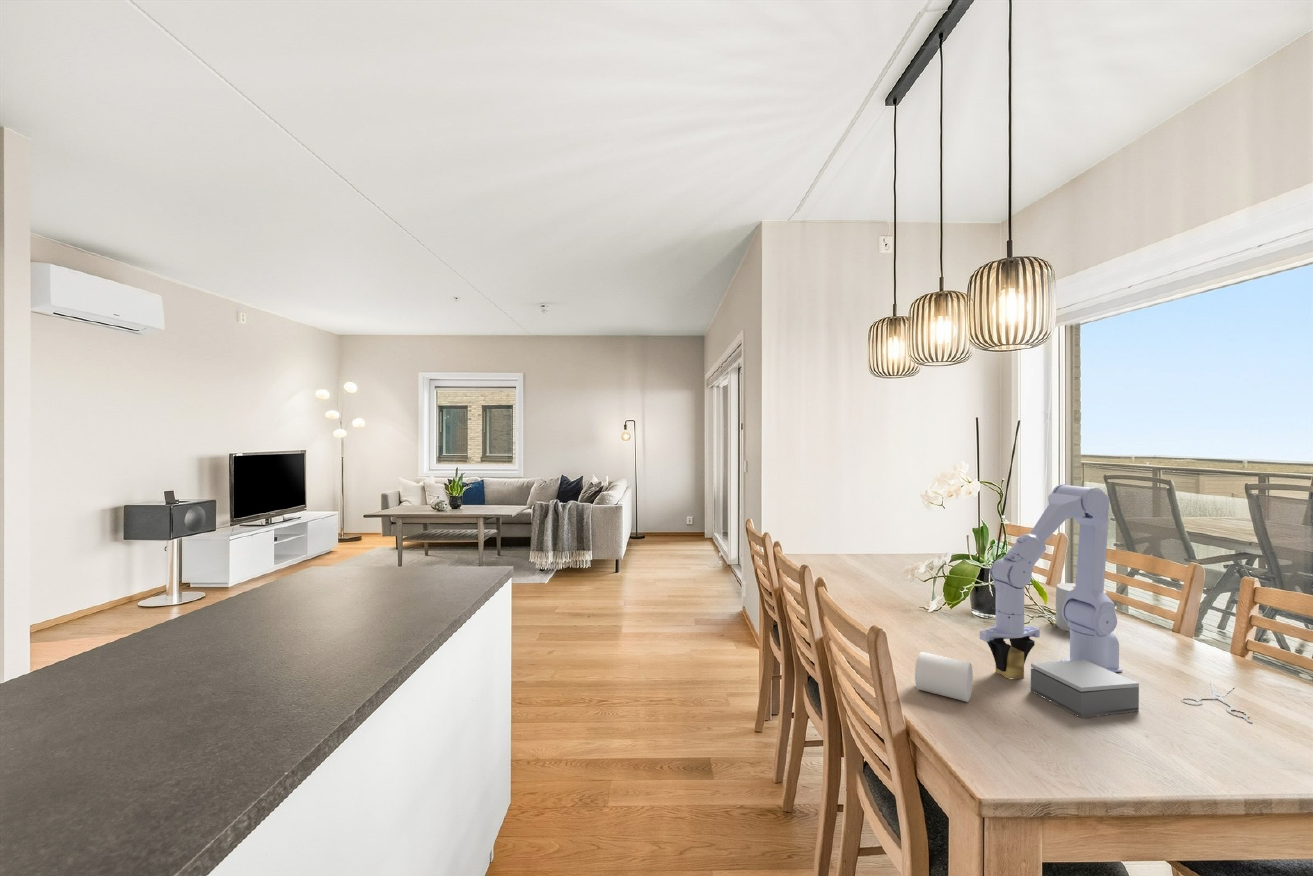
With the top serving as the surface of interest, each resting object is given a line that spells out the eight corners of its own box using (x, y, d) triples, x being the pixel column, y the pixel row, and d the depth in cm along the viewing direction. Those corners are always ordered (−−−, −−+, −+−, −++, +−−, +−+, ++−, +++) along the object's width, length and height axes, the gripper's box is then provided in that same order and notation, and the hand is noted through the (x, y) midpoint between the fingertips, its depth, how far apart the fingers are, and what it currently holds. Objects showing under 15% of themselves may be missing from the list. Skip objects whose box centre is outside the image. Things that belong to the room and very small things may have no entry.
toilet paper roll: (1059, 631, 162) (1059, 591, 162) (1052, 619, 172) (1052, 581, 172) (1112, 638, 156) (1112, 596, 156) (1101, 625, 167) (1101, 585, 167)
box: (1084, 685, 128) (1084, 663, 128) (1138, 711, 116) (1138, 687, 116) (1030, 691, 125) (1030, 668, 125) (1080, 718, 113) (1081, 693, 113)
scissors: (1178, 703, 119) (1190, 674, 132) (1178, 707, 119) (1190, 678, 132) (1252, 722, 111) (1256, 690, 124) (1252, 726, 111) (1256, 693, 124)
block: (1010, 670, 136) (1010, 645, 136) (1023, 678, 132) (1024, 652, 132) (995, 672, 135) (995, 647, 135) (1008, 679, 131) (1009, 653, 131)
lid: (1084, 663, 128) (1084, 659, 128) (1138, 687, 116) (1138, 683, 116) (1030, 667, 125) (1030, 663, 125) (1081, 691, 113) (1081, 687, 113)
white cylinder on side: (966, 708, 118) (966, 670, 118) (914, 694, 124) (914, 658, 124) (976, 687, 127) (976, 652, 127) (927, 675, 133) (927, 641, 133)
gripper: (1022, 604, 138) (1022, 659, 139) (970, 608, 136) (969, 664, 136) (1047, 613, 132) (1047, 671, 132) (992, 617, 129) (992, 677, 129)
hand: (1009, 669), depth 133 cm, fingers closed on block, 4 cm apart
